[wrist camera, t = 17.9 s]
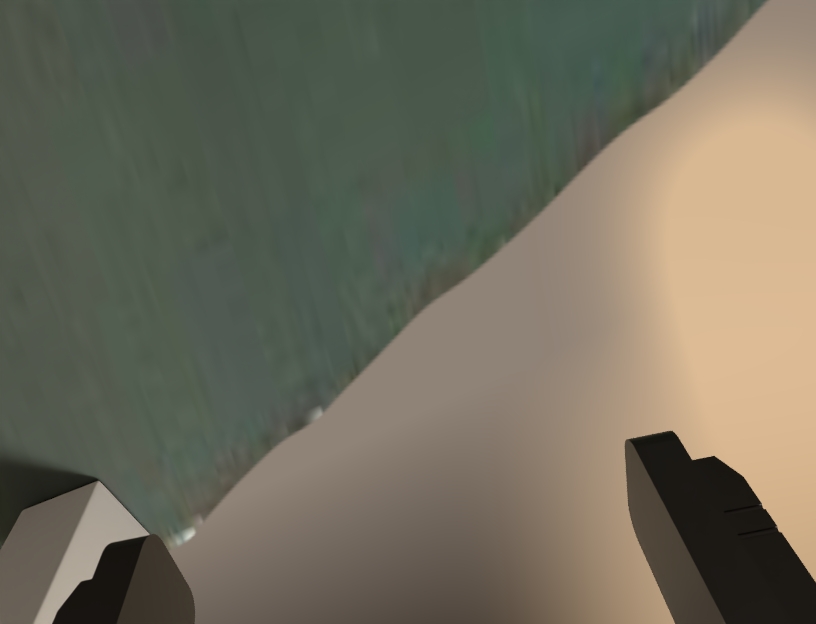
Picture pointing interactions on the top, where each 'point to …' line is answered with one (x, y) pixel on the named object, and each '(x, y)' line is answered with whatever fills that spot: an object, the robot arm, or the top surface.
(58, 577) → the milk carton
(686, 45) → the top surface
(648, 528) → the robot arm
